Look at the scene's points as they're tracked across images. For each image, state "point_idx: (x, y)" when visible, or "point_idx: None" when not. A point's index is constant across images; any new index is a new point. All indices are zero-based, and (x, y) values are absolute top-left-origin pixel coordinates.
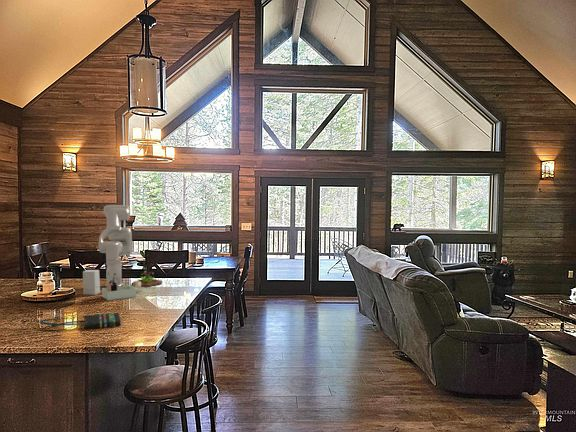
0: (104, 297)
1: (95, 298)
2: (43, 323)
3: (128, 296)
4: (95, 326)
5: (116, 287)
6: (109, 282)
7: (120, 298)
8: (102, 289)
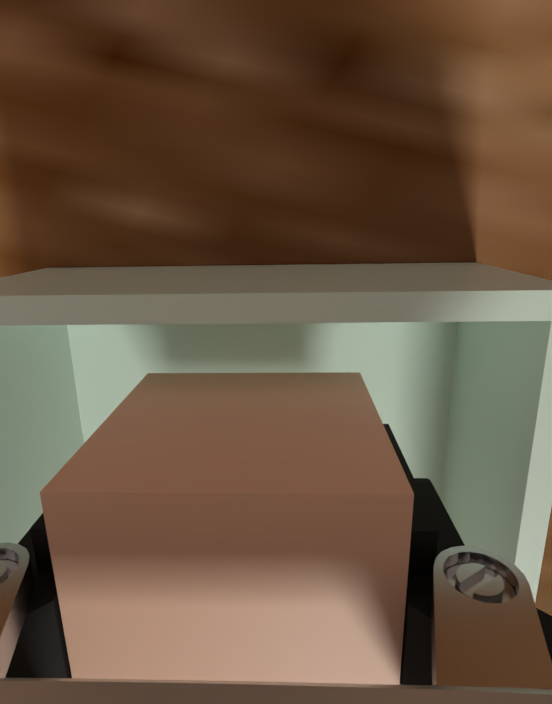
0: (299, 266)
1: (417, 97)
2: None
3: None
4: None
5: None
6: (433, 598)
7: None
8: (542, 285)
